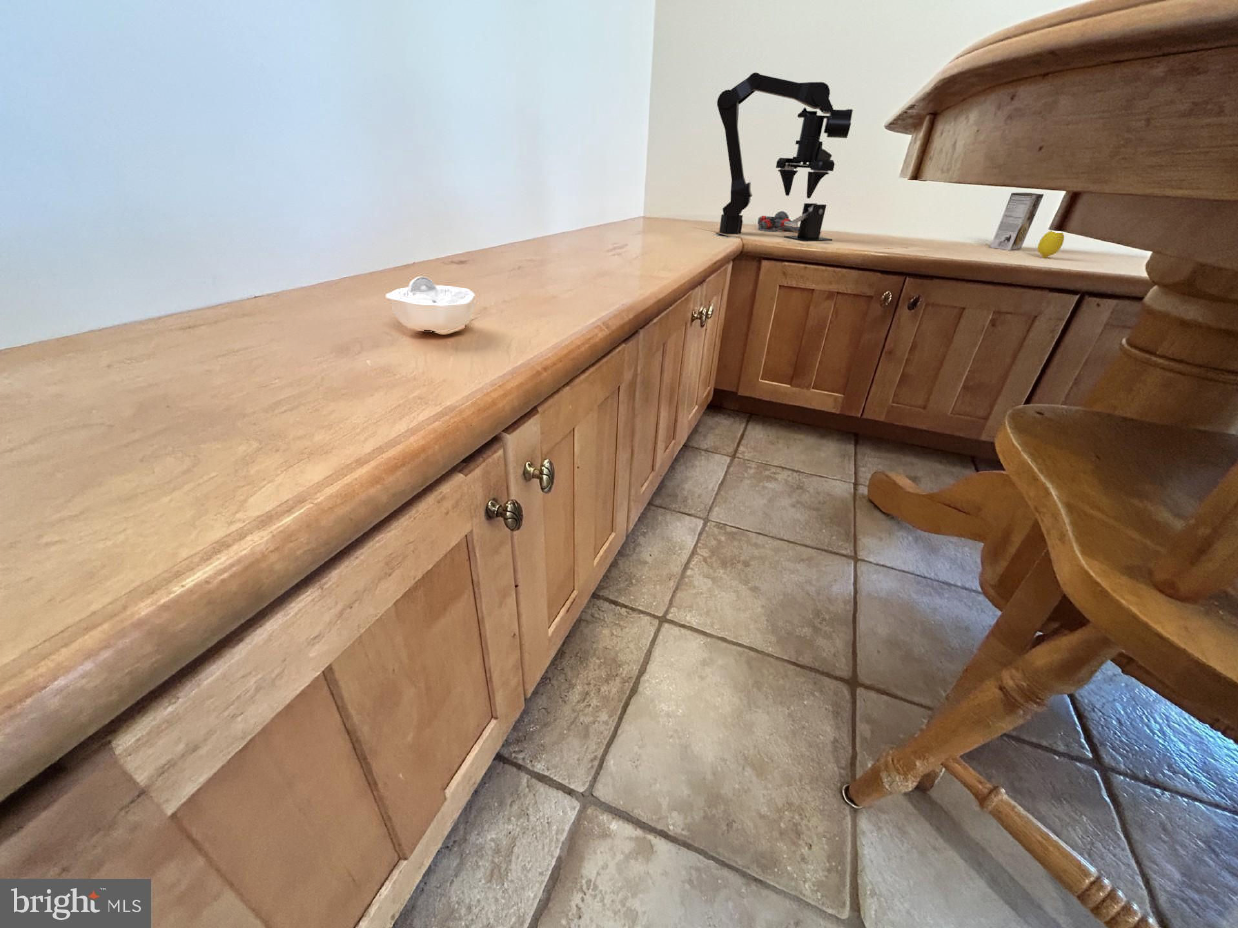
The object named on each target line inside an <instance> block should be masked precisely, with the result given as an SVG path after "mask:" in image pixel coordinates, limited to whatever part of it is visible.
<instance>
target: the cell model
mask: <svg viewBox="0 0 1238 928" xmlns="http://www.w3.org/2000/svg"><path fill="white" fill-rule="evenodd" d="M385 298H386V299H387V300H388V302H389V304H390V306H391V308H392V312H393V315H394V316H395V317H396V319H397V320H398V321H399V322H400V324H401V325H403V326H404V325H405V326H407V327H411V328H415V329H427V330H446V329H454V328H458V327H461V326H463V325H465V324H467V323H468V324H470V322H471V320H472V317H473V315H474V313H475V310H476V304H475V303H476V302H475V292H473V291H472V290H470V289H469V288H466V287H459V286H453V285H440V284H435V282H434V281H433V280H431V279H430V278H428V277H426V276H417V277H415V278H413V279H412V280H411V281H410V282H409V283H408V286H406V287H401V288H397V289H395V290H393V291H390V292H388V293H386V295H385ZM405 326H404V327H405ZM407 327H406V328H407ZM465 328H466V327H463V328H461V329H458V330H455V331H451V332H443V333H442V332H434V334H435V333H436V334H439V335H445V336H446V335H449V334H453V333H455V332H458V331H462V330H463V329H465ZM416 331H418V332H425V331H424V330H416Z"/></svg>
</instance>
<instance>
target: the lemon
mask: <svg viewBox="0 0 1238 928" xmlns="http://www.w3.org/2000/svg"><path fill="white" fill-rule="evenodd" d="M1064 241H1065V235H1064V233H1063V232H1062V233H1055V232H1052V230H1050V231H1048V232H1046V233H1045V234H1043V236H1042V237H1041V239H1039V242H1038V244H1037V252H1038V253H1039V254H1040V255H1041V256H1042V258H1043V259H1046V258H1048V257H1049V256H1050V257H1051V256H1053V255H1055V254H1056V253H1058V252H1059V251H1060V249H1061V248H1062V247H1063V245H1064Z"/></svg>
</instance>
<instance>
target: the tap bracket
mask: <svg viewBox="0 0 1238 928" xmlns="http://www.w3.org/2000/svg"><path fill="white" fill-rule="evenodd" d="M812 205H813V209H812V214H811V216H808V217H806V218H805V219H803V220H801V221H800V222H799V226H798V227H799V231H797V235H783V238H784V239H785V238H786V239H789V240H793V241H798V242H803V243H804V242H832V241H833V239H832V238H828V237H823V236H821V234H820V232H821V230H822V226H823V221H824V218H825V214H826V209H827V204H821V203H820V204H819V203H816V202H815V203H814V202H808V203H807V202H804V203H803V207H802V212H801V215H803V214H805V213H806V212H808V208H809V207H811V206H812Z"/></svg>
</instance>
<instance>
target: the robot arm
mask: <svg viewBox="0 0 1238 928" xmlns="http://www.w3.org/2000/svg"><path fill="white" fill-rule="evenodd" d="M756 92H759V93H764V94H768V95H773V96H777V97H780V98H781V97H782V98H787V99H790V100H794V101H797V102H798V103H800V104H802V105H804V106H806V107H808V108H810V109H812V110H807V108H806V107H803V109H802V110H801V111H800V112H799V113H798V114H797V118H799V119H803V120H802V124H801V130H800V135H799V138H798V140H797V139H796V140H795V145H797V149H796V155H795V156H792V157H791V158H790V157H779V158H778V159H777V160H776V165H775V169H777V172H778V173H779V175H780V177H781V181H782V185H783V189H784V194H785V196H787V197H789V196H790V194H791V191H792V187H793V182H794V178H795V176H796V175H797V173H798V172H799V170H797V169H798V168H800V169H801V168H802V169H809V170H810V171H807V182H806V199H811V198H812V196H813V194H814V192H815V190H816V189H817V186H818V185H819V183H820V182H821V180H822V179H823V178H824V177H826V176H827V175H829V174H830V172H834V169H835V165H836V164H835V161H834V159H832V157H833V155H832V154H831V153H830V152H828V150H826V149H824V148H823V144H824V143H823V141H822V140H821V135H822V131H823V134H826V138H831V139H833V138H834V139H848V136H849V133H850V129H851V125H852V122H851V121H852V117H853V112H854V110H853V109H852V108H848V109H834V106H833V104H832V102H831V100H830V95H831V89H830V87H829V85H828V84H827V82H823V81H807V82H798V81H792V80H788V79H783V78H778V77H774V76H769V75H765V74H761V73H759V72H753V73H750V75H749V76H748V77H747V78H745V79H743V80H742V81H740V82H739V83H738V84H736V85H735V86H733V87H732V88H731V89H725V90H723V91H722V92H720V94H719V96H718V98H717V101H716V106H717V110H718V113H719V116H720V120H721V123H722V125H723V129H724V133H725V140H726V148H727V149H726V150H727V156H728V163H729V171H730V178H731V182H730V201H729V202H728V203H727V204H725V206H723V208H722V214H721V215H720V222H719V231H718V232H716V233H715V234H716V235H719V236H723V237H727V238H729V237H731V238H732V236H731V235H740V234H742V229H743V224H744V222H743V221H744V220H743V217H744V216H743V215H742V214H741V213H742V212H743V210H745V209H746V208H747V207H748V206H749V205H750V203H751V198H752V197H753V193H752V191H751V187H752V186H751V185H752V184H751V181H748V182H747V181H746V179H745V175H744V167H743V166H744V165H743V158H742V151H741V142H740V134H739V114H740V113H739V112H740V111H739V110H740V105H741V104H742V103H743V102H744V101H746V100H747V99H748V98H749V97H750V96H752V95H753V94H754V93H756ZM818 110H819V111H820V112H821V113H822V114H823V115H821V114H820V115H819V114H818ZM825 119H826V120H825ZM824 121H825V123H824ZM823 127H824V128H823Z"/></svg>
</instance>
